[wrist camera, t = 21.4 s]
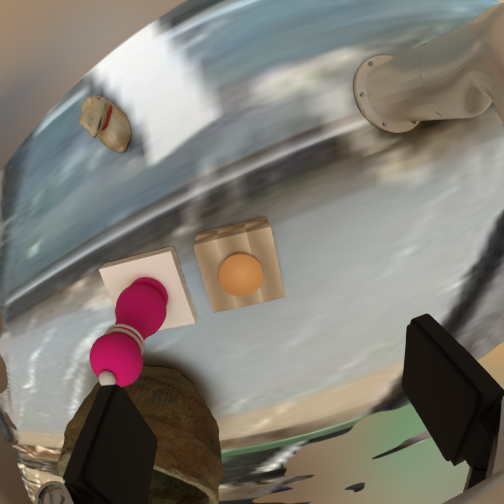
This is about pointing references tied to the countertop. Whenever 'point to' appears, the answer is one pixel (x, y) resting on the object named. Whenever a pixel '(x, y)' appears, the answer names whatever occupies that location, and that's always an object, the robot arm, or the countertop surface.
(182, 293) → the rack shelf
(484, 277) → the countertop surface
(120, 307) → the pepper mill
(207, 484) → the clay pot
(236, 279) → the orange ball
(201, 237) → the stand
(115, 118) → the chocolate bunny
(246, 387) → the countertop surface
